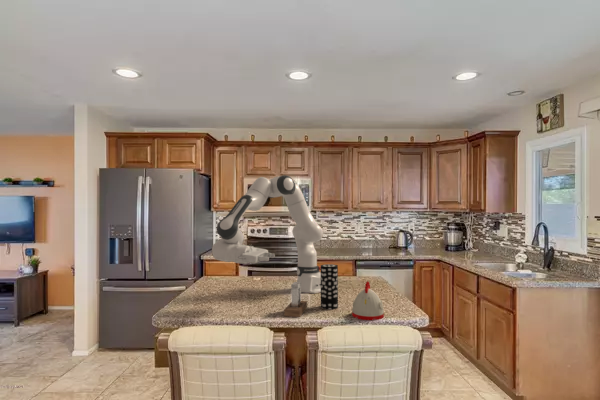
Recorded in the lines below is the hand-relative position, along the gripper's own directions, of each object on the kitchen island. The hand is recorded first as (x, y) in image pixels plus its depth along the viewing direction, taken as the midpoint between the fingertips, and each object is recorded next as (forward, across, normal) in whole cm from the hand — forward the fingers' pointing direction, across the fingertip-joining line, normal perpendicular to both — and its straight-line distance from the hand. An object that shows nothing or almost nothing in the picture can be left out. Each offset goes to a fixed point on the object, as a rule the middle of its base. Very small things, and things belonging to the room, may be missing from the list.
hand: (271, 257), depth 171 cm
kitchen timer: (+46, -1, +21) cm, 51 cm away
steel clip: (+14, -2, +23) cm, 27 cm away
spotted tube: (+28, +9, +23) cm, 37 cm away
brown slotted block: (+14, -2, +23) cm, 27 cm away
